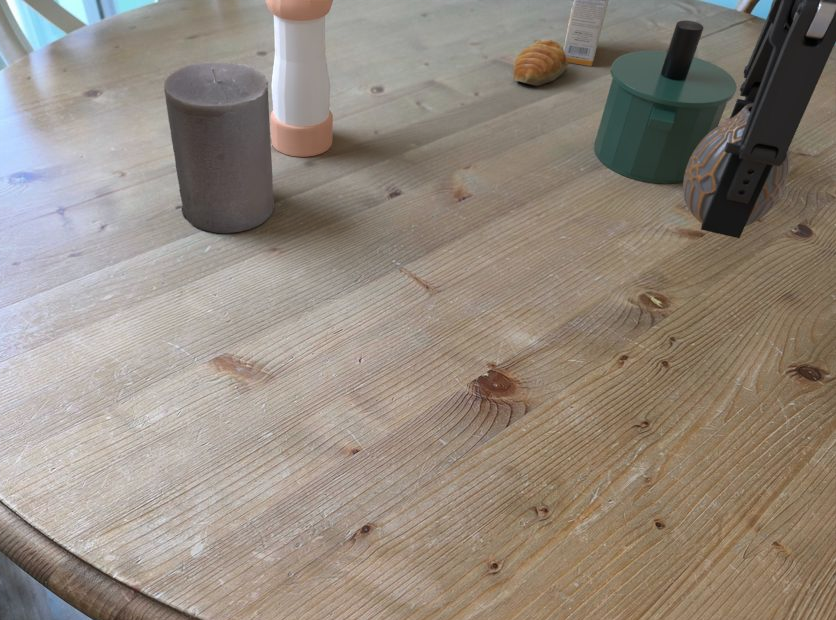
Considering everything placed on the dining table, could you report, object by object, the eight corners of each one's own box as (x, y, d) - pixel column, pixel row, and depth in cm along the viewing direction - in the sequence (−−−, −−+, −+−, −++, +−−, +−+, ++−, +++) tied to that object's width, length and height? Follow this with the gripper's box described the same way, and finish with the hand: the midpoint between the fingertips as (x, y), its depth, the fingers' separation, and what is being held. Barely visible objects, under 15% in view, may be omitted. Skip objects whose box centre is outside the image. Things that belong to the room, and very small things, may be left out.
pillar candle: (164, 220, 77) (138, 78, 66) (212, 174, 84) (196, 39, 73) (248, 244, 75) (235, 101, 64) (291, 195, 81) (286, 59, 71)
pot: (704, 134, 96) (732, 61, 89) (695, 205, 83) (727, 126, 77) (605, 113, 98) (625, 41, 92) (582, 179, 86) (603, 101, 80)
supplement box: (565, 41, 116) (585, -52, 106) (596, 46, 115) (620, -47, 106) (559, 62, 110) (580, -34, 101) (592, 67, 109) (616, -29, 100)
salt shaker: (281, 123, 93) (274, -44, 79) (338, 131, 92) (341, -37, 79) (263, 152, 88) (253, -22, 74) (324, 161, 87) (324, -14, 73)
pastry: (545, 94, 102) (551, 66, 99) (499, 81, 104) (504, 54, 102) (568, 70, 108) (574, 43, 105) (525, 59, 110) (529, 32, 108)
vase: (766, 250, 55) (819, 142, 49) (670, 230, 57) (710, 123, 51) (762, 201, 60) (811, 98, 54) (674, 184, 61) (711, 81, 55)
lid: (734, 74, 88) (757, 15, 83) (730, 124, 79) (756, 61, 74) (617, 52, 91) (633, -6, 86) (600, 97, 82) (617, 35, 77)
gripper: (795, -183, 49) (682, 136, 65) (805, -115, 36) (659, 265, 52) (922, -170, 47) (773, 155, 63) (981, -94, 34) (774, 293, 50)
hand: (722, 204), depth 58 cm, fingers closed on vase, 7 cm apart
